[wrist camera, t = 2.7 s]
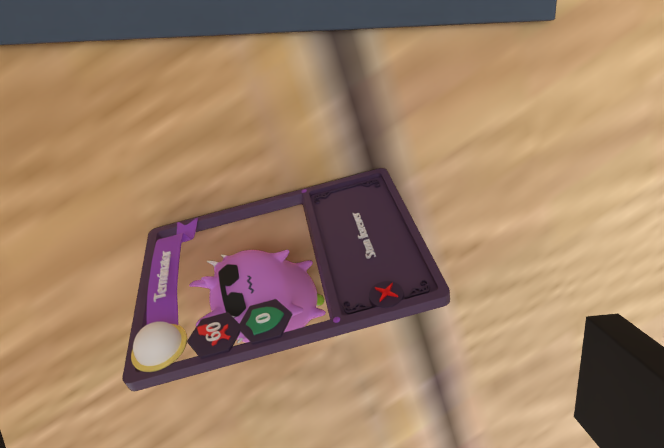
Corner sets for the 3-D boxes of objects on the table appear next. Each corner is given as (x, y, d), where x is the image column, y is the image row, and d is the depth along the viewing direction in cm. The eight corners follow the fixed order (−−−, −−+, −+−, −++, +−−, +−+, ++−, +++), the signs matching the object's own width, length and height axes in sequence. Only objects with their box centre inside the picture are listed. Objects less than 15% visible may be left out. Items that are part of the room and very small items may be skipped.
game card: (451, 275, 13) (107, 368, 12) (457, 387, 16) (184, 464, 16) (382, 149, 18) (140, 214, 18) (397, 253, 21) (193, 309, 21)
